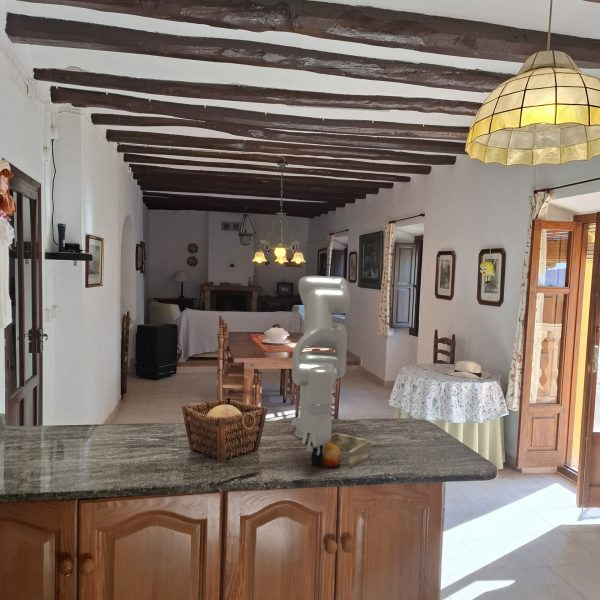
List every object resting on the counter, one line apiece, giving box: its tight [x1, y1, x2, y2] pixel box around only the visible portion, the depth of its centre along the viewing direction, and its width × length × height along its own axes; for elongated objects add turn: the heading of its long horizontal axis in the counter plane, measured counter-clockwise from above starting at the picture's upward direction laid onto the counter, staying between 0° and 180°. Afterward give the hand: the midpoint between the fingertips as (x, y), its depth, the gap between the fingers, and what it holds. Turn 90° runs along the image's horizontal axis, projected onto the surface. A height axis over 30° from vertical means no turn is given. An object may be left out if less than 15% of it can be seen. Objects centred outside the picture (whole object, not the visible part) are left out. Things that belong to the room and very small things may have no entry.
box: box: [329, 431, 372, 469], centre depth 171 cm, size 14×14×5 cm
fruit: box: [321, 442, 342, 468], centre depth 163 cm, size 8×8×8 cm
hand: (316, 466), depth 157 cm, fingers closed
